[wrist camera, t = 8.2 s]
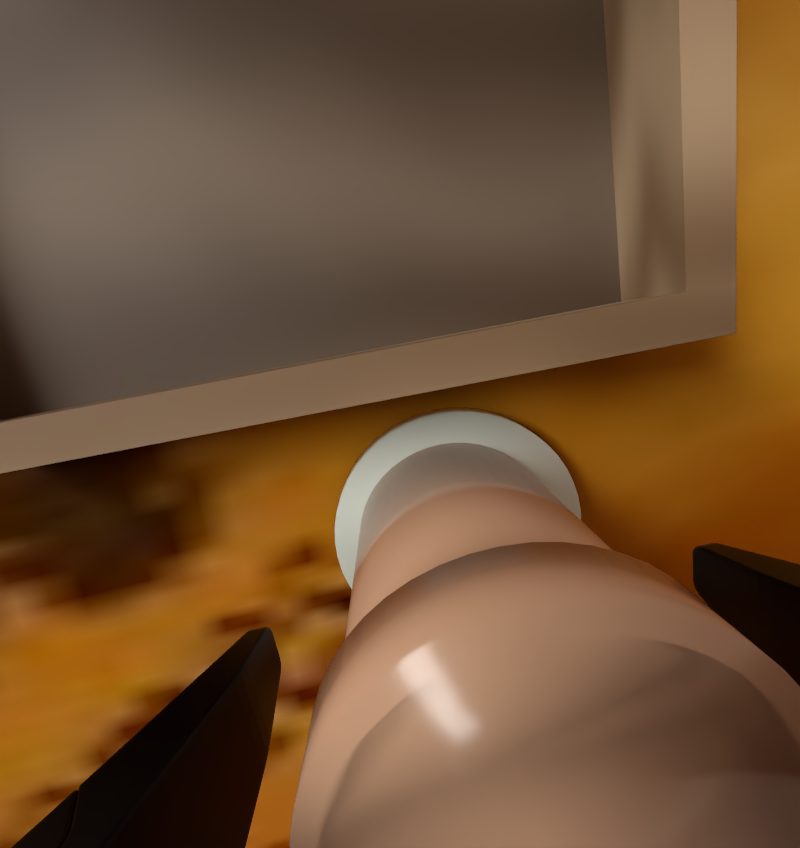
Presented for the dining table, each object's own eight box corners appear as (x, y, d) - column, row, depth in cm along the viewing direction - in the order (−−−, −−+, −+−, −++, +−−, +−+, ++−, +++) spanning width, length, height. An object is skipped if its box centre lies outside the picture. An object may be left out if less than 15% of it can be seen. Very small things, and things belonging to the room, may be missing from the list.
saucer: (577, 599, 13) (590, 617, 12) (364, 639, 13) (362, 659, 12) (556, 386, 11) (569, 390, 10) (314, 432, 11) (308, 439, 10)
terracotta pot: (569, 606, 12) (822, 976, 5) (372, 643, 12) (354, 1061, 5) (548, 412, 10) (854, 553, 4) (328, 454, 11) (220, 671, 4)
